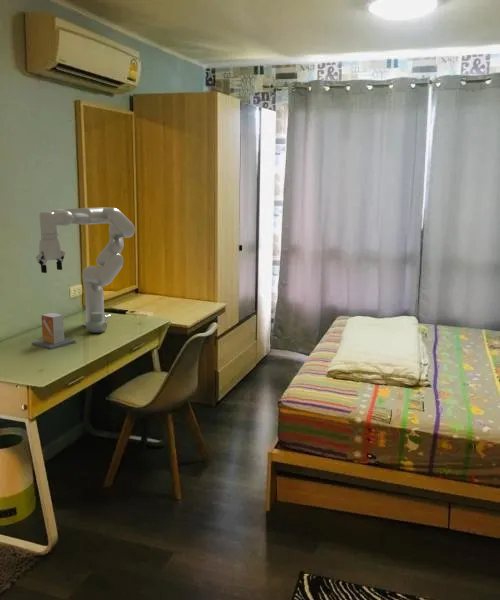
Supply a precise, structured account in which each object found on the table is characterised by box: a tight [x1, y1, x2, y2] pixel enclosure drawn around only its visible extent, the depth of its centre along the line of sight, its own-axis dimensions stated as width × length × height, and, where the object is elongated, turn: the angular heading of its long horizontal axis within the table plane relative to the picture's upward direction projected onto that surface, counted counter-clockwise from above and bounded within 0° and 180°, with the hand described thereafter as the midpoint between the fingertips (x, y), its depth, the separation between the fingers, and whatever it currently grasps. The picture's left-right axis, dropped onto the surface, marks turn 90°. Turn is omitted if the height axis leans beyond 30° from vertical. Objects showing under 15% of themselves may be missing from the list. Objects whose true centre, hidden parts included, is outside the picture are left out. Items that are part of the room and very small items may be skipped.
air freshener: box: [85, 312, 108, 334], centre depth 304 cm, size 11×8×10 cm
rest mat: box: [31, 337, 77, 350], centre depth 283 cm, size 14×14×1 cm
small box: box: [41, 312, 65, 344], centre depth 281 cm, size 8×6×13 cm
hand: (52, 271), depth 296 cm, fingers open, 9 cm apart
